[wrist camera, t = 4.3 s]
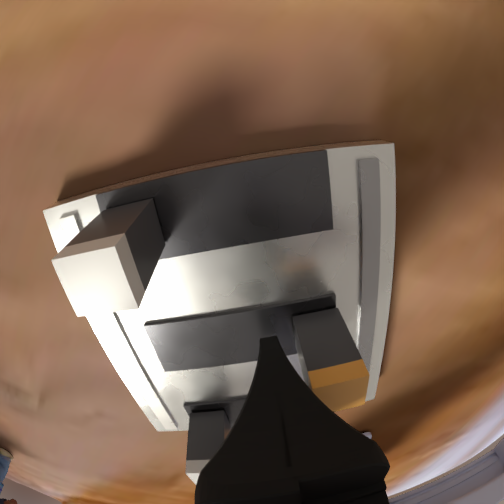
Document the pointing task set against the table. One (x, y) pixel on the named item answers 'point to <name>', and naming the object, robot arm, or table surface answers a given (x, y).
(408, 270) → the table surface
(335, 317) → the breaker
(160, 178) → the plate
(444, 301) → the table surface
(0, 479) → the doll family
